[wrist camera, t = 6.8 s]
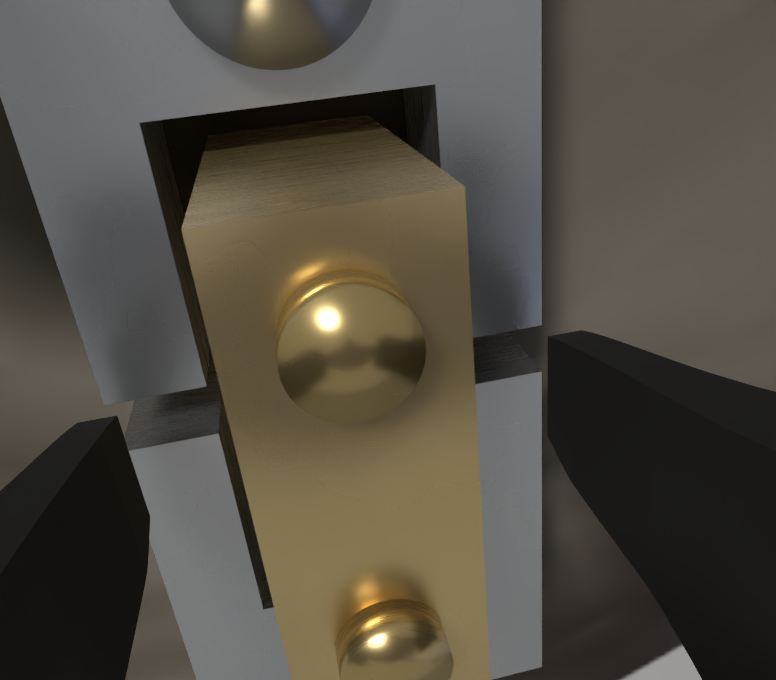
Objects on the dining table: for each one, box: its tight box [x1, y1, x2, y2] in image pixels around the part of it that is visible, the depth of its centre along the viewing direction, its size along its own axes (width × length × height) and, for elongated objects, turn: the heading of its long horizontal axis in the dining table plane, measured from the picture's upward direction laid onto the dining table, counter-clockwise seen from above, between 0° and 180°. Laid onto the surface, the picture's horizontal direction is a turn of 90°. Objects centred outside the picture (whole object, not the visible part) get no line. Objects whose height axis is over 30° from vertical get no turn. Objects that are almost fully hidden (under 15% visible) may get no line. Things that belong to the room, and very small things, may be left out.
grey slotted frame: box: [0, 0, 542, 680], centre depth 13 cm, size 18×8×3 cm, turn 6°
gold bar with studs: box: [181, 114, 491, 680], centre depth 11 cm, size 8×3×7 cm, turn 6°
